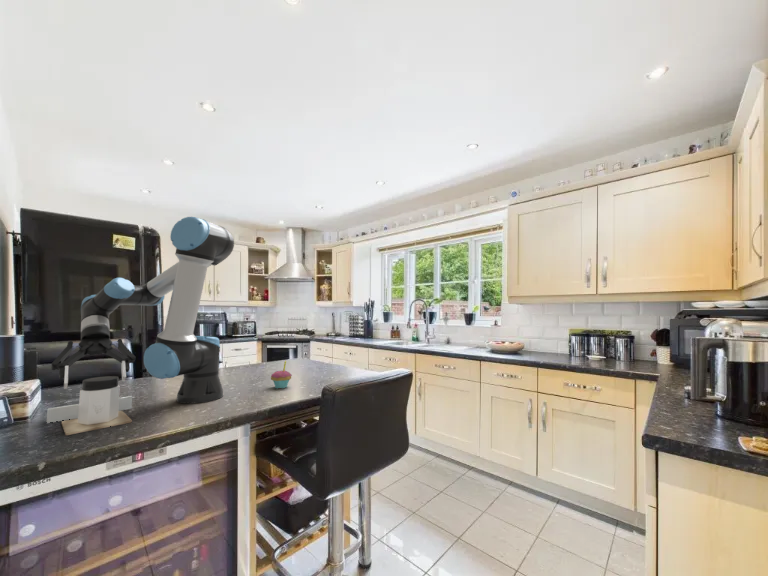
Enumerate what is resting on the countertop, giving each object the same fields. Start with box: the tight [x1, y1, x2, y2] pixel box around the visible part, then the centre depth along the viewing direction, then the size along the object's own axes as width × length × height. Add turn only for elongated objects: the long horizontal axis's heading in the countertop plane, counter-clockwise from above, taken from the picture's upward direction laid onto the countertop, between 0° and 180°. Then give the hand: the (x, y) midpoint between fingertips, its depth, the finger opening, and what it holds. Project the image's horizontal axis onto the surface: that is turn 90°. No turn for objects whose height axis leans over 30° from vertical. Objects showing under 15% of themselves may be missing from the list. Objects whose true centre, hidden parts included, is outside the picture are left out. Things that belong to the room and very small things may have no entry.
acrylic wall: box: [46, 395, 133, 424], centre depth 104 cm, size 20×1×4 cm, turn 138°
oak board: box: [61, 410, 133, 436], centre depth 97 cm, size 14×14×1 cm
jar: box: [78, 375, 121, 425], centre depth 97 cm, size 9×8×12 cm
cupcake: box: [270, 360, 293, 389], centre depth 142 cm, size 9×8×12 cm
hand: (96, 382), depth 102 cm, fingers open, 13 cm apart
